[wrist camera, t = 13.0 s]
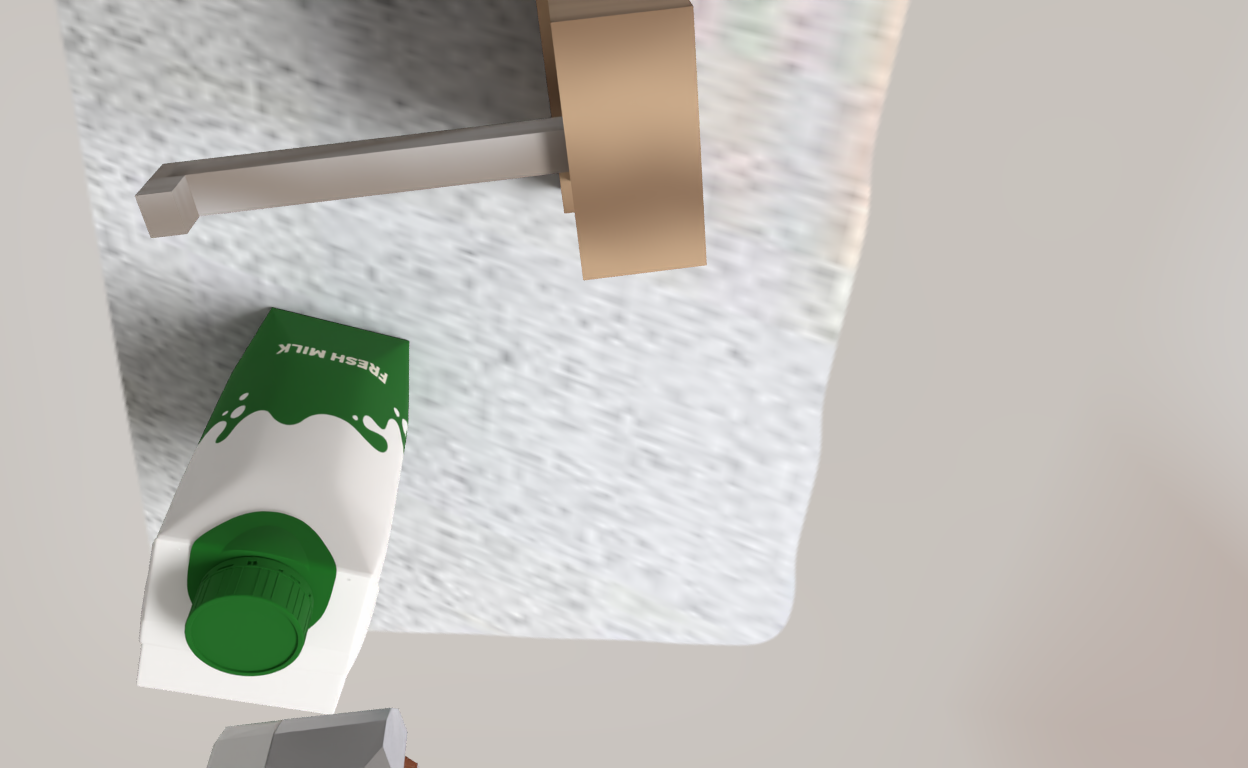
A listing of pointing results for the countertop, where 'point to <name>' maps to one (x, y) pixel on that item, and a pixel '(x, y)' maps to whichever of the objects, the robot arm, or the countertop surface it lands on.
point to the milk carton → (281, 521)
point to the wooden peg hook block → (519, 146)
